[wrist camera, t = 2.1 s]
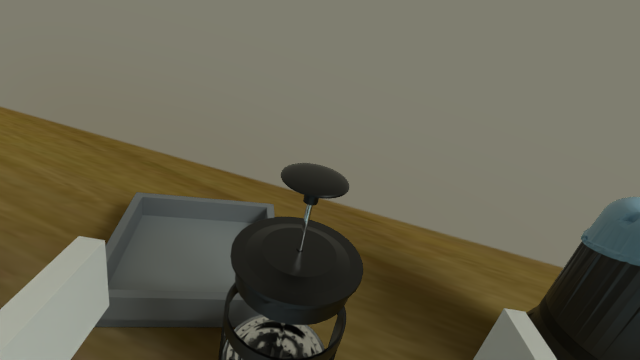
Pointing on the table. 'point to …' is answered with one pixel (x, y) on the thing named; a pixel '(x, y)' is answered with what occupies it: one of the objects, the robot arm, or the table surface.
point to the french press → (292, 277)
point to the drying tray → (176, 262)
